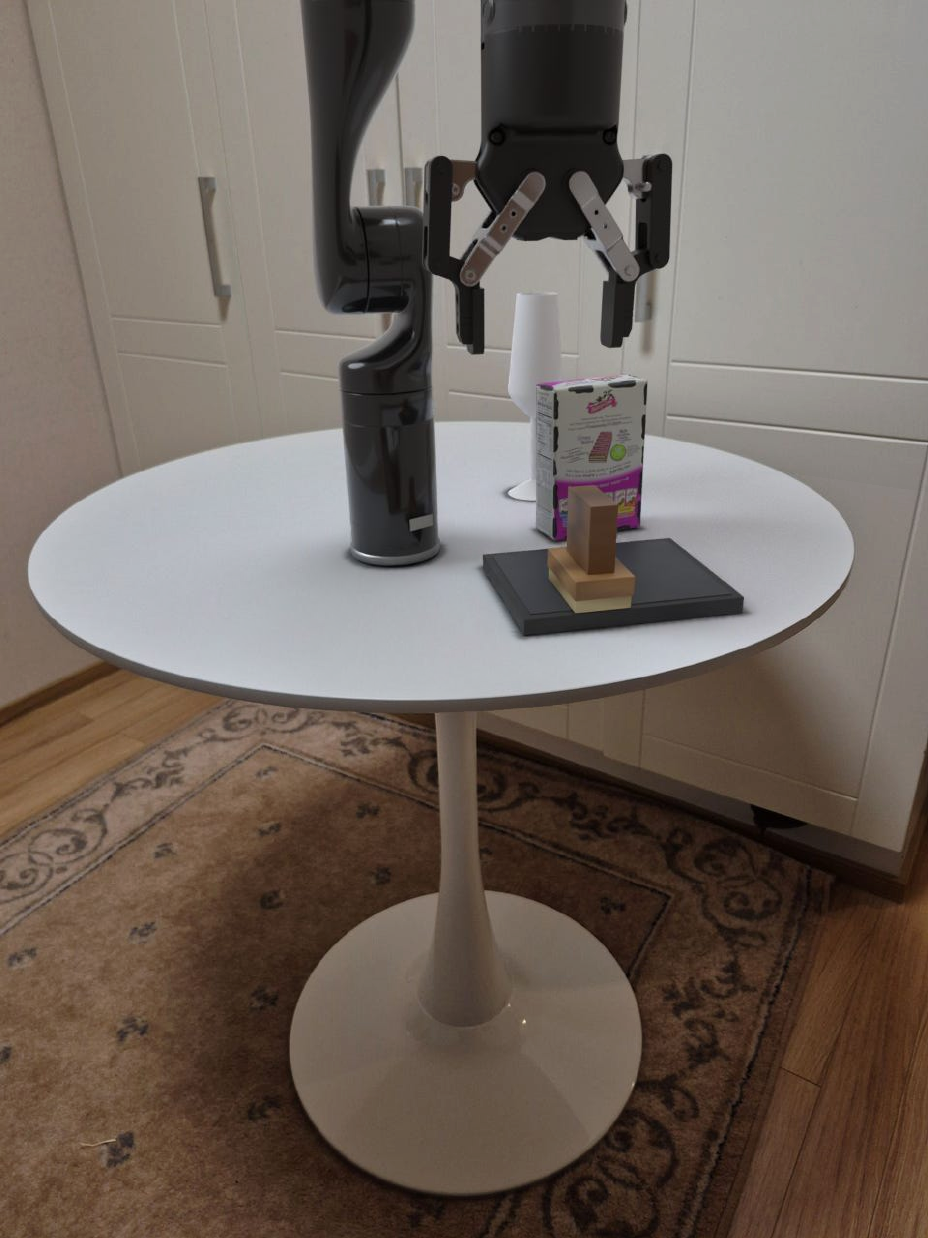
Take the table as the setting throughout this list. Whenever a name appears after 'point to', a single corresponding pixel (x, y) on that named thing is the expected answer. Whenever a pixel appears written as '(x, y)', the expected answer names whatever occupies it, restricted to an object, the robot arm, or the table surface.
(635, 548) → the panel
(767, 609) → the table surface
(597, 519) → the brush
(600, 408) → the candy bar box
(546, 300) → the champagne flute
